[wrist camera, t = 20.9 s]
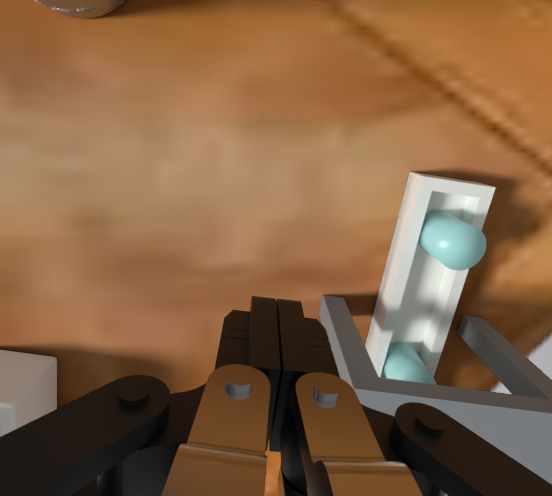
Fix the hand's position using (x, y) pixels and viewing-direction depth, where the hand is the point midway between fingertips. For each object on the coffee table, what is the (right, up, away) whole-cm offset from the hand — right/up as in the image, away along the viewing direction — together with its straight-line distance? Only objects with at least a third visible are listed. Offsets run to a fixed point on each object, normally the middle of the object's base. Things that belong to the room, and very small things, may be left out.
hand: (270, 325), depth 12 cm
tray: (+13, -2, +25) cm, 28 cm away
